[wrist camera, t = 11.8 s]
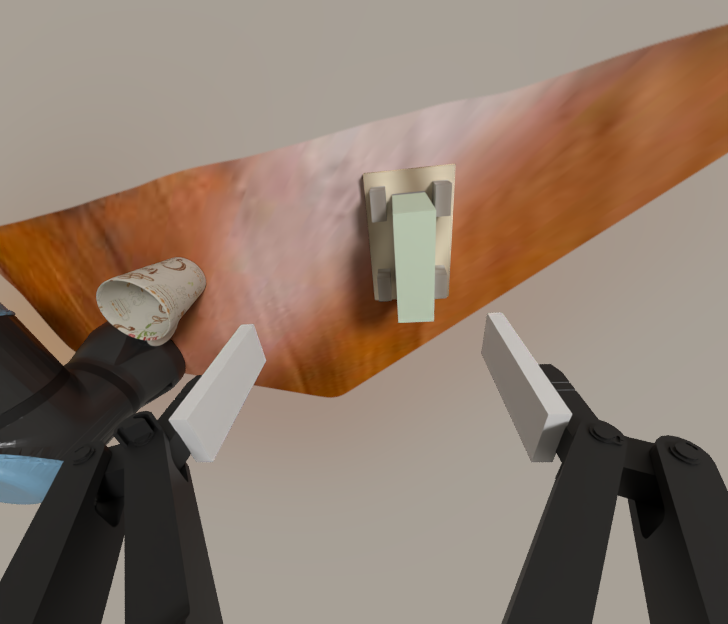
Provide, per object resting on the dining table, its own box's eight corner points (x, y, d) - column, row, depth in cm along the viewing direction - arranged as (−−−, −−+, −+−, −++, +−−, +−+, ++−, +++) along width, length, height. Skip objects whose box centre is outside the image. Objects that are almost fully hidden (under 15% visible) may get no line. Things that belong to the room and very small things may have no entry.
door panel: (396, 281, 38) (398, 322, 30) (392, 194, 33) (392, 213, 24) (424, 279, 38) (433, 321, 29) (424, 190, 32) (436, 210, 24)
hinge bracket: (375, 296, 41) (373, 311, 37) (363, 173, 33) (360, 177, 29) (447, 292, 40) (452, 307, 36) (453, 163, 31) (461, 166, 28)
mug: (213, 258, 40) (165, 290, 31) (215, 328, 46) (176, 372, 38) (153, 241, 39) (87, 270, 31) (163, 315, 46) (111, 356, 37)
